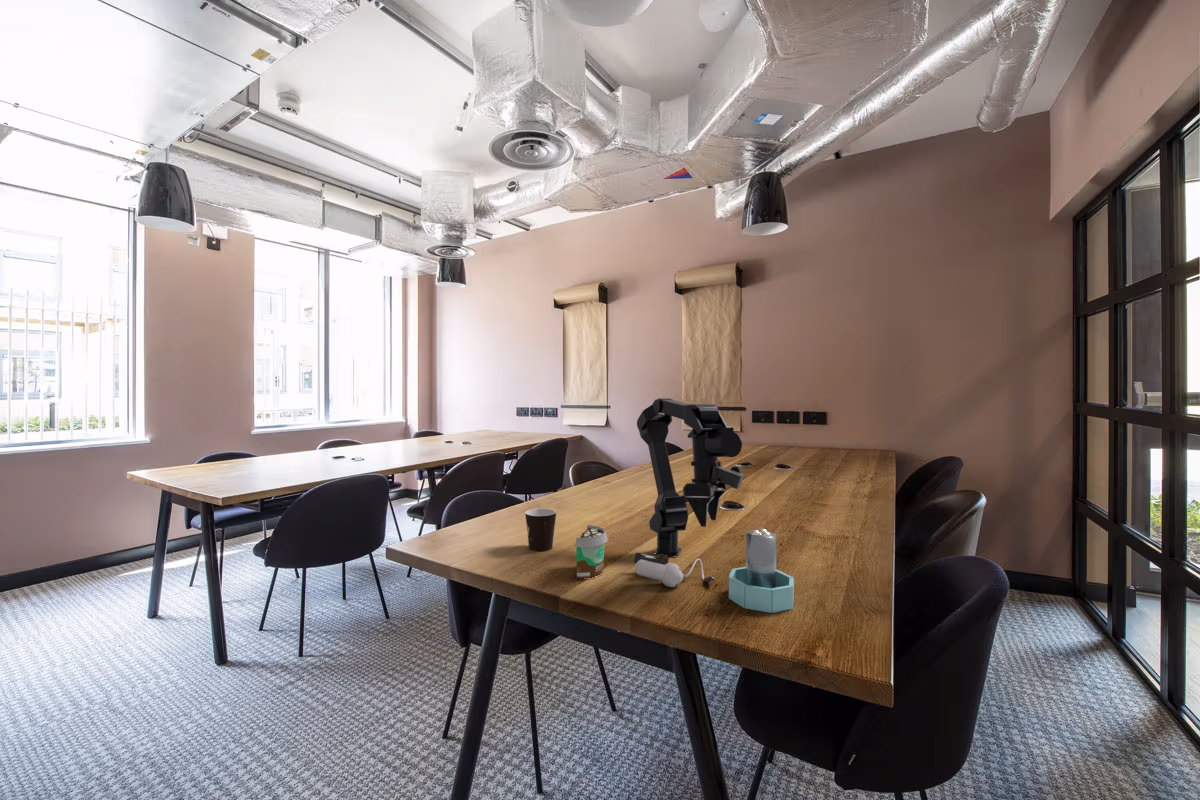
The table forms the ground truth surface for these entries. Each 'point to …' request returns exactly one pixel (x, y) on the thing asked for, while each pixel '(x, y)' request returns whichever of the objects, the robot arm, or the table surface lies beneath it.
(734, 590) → the bowl
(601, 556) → the food container
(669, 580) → the clip-on lamp
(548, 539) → the coffee mug
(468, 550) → the table surface
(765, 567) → the steel cylinder with balls
